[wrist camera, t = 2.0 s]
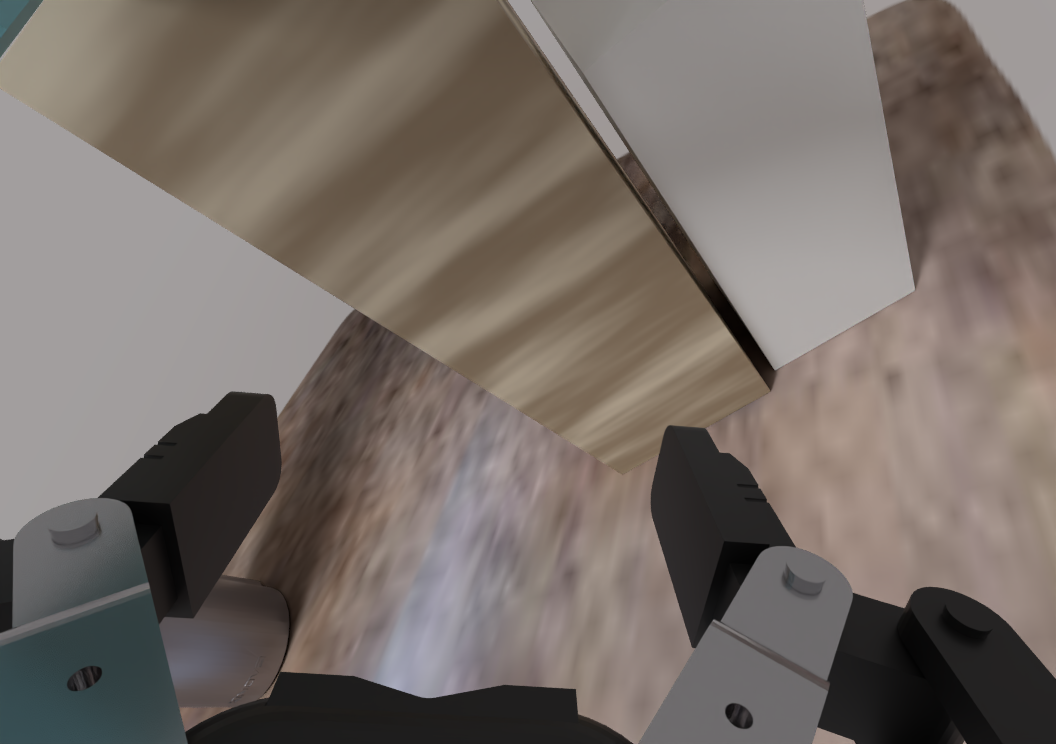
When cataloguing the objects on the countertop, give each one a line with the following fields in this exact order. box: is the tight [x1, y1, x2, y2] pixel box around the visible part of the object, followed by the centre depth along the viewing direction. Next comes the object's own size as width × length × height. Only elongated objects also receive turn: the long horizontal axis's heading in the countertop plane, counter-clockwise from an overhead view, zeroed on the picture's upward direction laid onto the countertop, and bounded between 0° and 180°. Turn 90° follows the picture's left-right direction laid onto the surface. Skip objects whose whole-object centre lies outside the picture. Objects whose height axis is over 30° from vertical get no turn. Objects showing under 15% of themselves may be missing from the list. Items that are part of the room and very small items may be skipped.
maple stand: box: [0, 0, 771, 475], centre depth 28 cm, size 16×10×32 cm, turn 16°
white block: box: [531, 0, 915, 370], centre depth 27 cm, size 8×8×22 cm
